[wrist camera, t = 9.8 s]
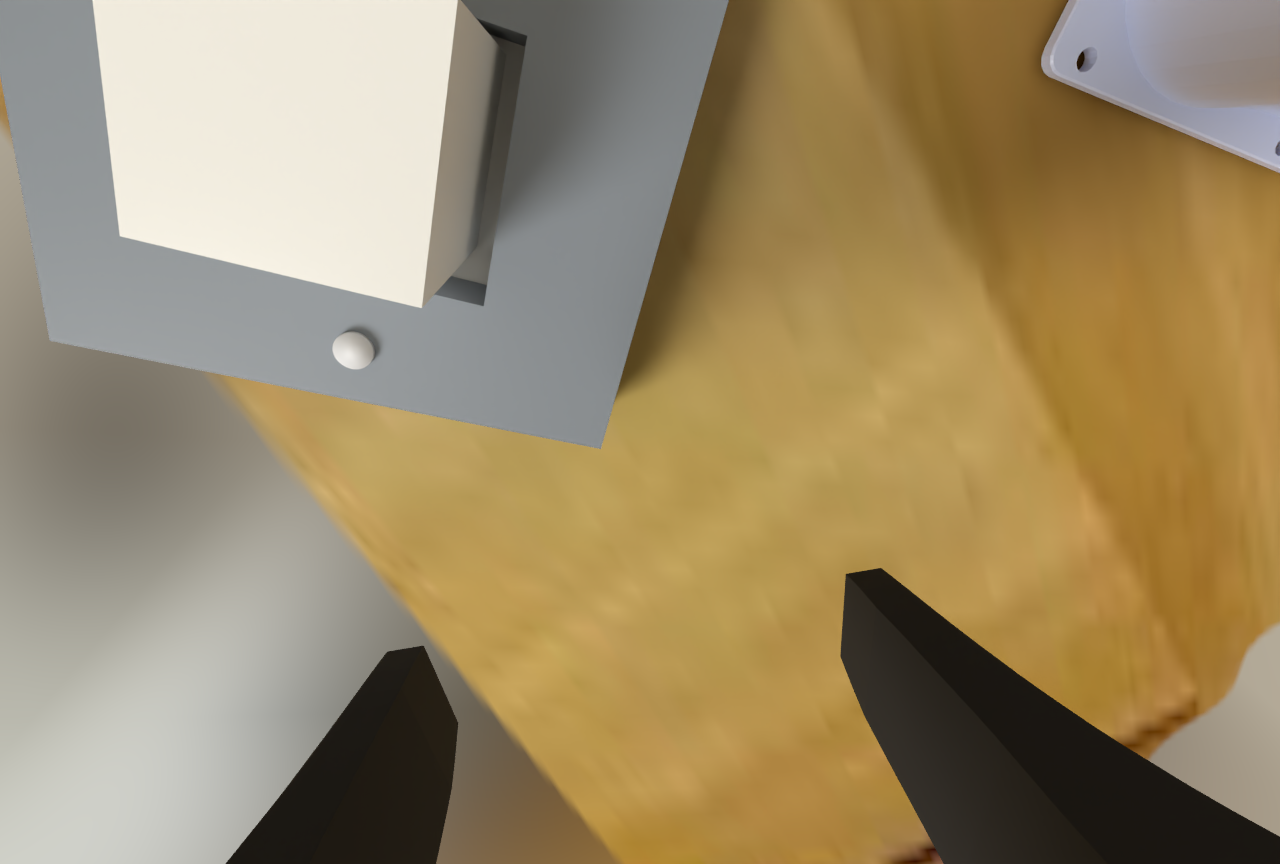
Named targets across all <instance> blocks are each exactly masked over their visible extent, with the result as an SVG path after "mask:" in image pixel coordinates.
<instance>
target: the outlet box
mask: <svg viewBox="0 0 1280 864" xmlns="http://www.w3.org/2000/svg"><path fill="white" fill-rule="evenodd" d="M461 1H462V2H463V3H464V5H465V6H466V7H467V8H468V9H469V11H470V12H471V13H472V14H473V15H474V17H475V18H476V19H477V20H478V21H479V23H480V24H481V25H482V26H483V27H484V29H485V30H486V31H487V32H488V33H489V35H490V36H491V37H492V38H493V39H494V41H495V42H496V43H497V44H498V45H499V47H500V48H501V49H502V50H503V51H504V52H505V54H506V60H505V67H504V73H503V80H502V87H501V93H500V100H499V106H498V113H497V119H496V126H495V132H494V139H493V145H492V152H491V159H490V165H489V172H488V178H487V185H486V191H485V198H484V204H483V211H482V217H481V224H480V231H479V237H478V244H477V247H476V249H475V250H474V251H473V252H472V253H471V254H470V255H469V256H468V257H467V259H466V260H465V261H464V262H463V263H462V264H461V265H460V266H459V267H458V269H457V270H456V271H455V272H454V273H453V274H452V275H451V276H450V277H449V279H448V280H447V281H446V282H445V283H444V284H443V285H442V286H441V287H440V289H439V290H438V291H437V292H436V293H435V294H434V295H433V296H432V297H431V299H430V300H429V301H428V302H427V303H426V304H425V305H424V306H423V308H418V307H414V306H410V305H406V304H402V303H398V302H393V301H389V300H385V299H381V298H377V297H372V296H368V295H364V294H360V293H356V292H351V291H347V290H343V289H339V288H335V287H330V286H326V285H322V284H318V283H314V282H310V281H305V280H301V279H297V278H293V277H289V276H284V275H280V274H276V273H272V272H268V271H263V270H259V269H255V268H251V267H247V266H243V265H238V264H234V263H230V262H226V261H222V260H217V259H213V258H209V257H205V256H201V255H196V254H192V253H188V252H184V251H180V250H175V249H171V248H167V247H163V246H159V245H155V244H150V243H146V242H142V241H138V240H134V239H129V238H125V237H121V236H120V234H119V225H118V217H117V208H116V199H115V191H114V182H113V174H112V165H111V156H110V148H109V139H108V130H107V122H106V113H105V104H104V96H103V87H102V78H101V70H100V61H99V52H98V44H97V35H96V27H95V18H94V9H93V1H92V0H0V77H1V82H2V87H3V93H4V98H5V103H6V109H7V114H8V120H9V125H10V130H11V136H12V141H13V146H14V152H15V157H16V162H17V168H18V173H19V178H20V184H21V189H22V194H23V200H24V205H25V210H26V216H27V221H28V226H29V231H30V237H31V243H32V248H33V253H34V259H35V264H36V269H37V274H38V279H39V285H40V290H41V296H42V301H43V306H44V312H45V317H46V322H47V328H48V333H49V339H50V341H54V342H59V343H64V344H69V345H74V346H79V347H84V348H89V349H94V350H99V351H104V352H110V353H115V354H120V355H125V356H130V357H135V358H140V359H145V360H150V361H155V362H160V363H166V364H171V365H176V366H181V367H186V368H191V369H196V370H201V371H206V372H211V373H217V374H222V375H227V376H232V377H237V378H242V379H247V380H252V381H257V382H262V383H268V384H273V385H278V386H283V387H288V388H293V389H298V390H303V391H308V392H313V393H319V394H324V395H329V396H334V397H339V398H344V399H349V400H354V401H359V402H364V403H370V404H375V405H380V406H385V407H390V408H395V409H400V410H405V411H410V412H415V413H420V414H426V415H431V416H436V417H441V418H446V419H451V420H456V421H461V422H466V423H471V424H477V425H482V426H487V427H492V428H497V429H502V430H507V431H512V432H517V433H522V434H528V435H533V436H538V437H543V438H548V439H553V440H558V441H563V442H568V443H573V444H579V445H584V446H589V447H594V448H599V449H601V446H602V443H603V439H604V436H605V432H606V428H607V425H608V421H609V418H610V414H611V411H612V407H613V404H614V400H615V397H616V393H617V390H618V386H619V383H620V379H621V376H622V372H623V369H624V365H625V362H626V358H627V355H628V351H629V348H630V344H631V341H632V337H633V334H634V330H635V327H636V323H637V320H638V316H639V313H640V309H641V306H642V302H643V299H644V295H645V292H646V288H647V285H648V281H649V278H650V274H651V271H652V267H653V264H654V260H655V257H656V253H657V250H658V246H659V243H660V239H661V236H662V232H663V229H664V225H665V222H666V218H667V215H668V211H669V208H670V204H671V201H672V197H673V194H674V190H675V187H676V183H677V180H678V176H679V173H680V169H681V166H682V162H683V159H684V155H685V152H686V148H687V145H688V141H689V138H690V134H691V131H692V127H693V124H694V120H695V117H696V113H697V110H698V106H699V103H700V99H701V96H702V92H703V89H704V85H705V82H706V78H707V75H708V71H709V68H710V64H711V61H712V57H713V54H714V50H715V47H716V43H717V40H718V36H719V33H720V29H721V26H722V22H723V19H724V15H725V12H726V8H727V5H728V1H729V0H461Z"/></svg>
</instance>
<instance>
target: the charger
mask: <svg viewBox="0 0 1280 864" xmlns="http://www.w3.org/2000/svg"><path fill="white" fill-rule="evenodd" d="M92 1H93V9H94V18H95V27H96V35H97V44H98V52H99V61H100V70H101V78H102V87H103V96H104V104H105V113H106V122H107V130H108V139H109V148H110V156H111V165H112V174H113V182H114V191H115V199H116V208H117V217H118V225H119V234H120V236H121V237H125V238H129V239H134V240H138V241H142V242H146V243H150V244H155V245H159V246H163V247H167V248H171V249H175V250H180V251H184V252H188V253H192V254H196V255H201V256H205V257H209V258H213V259H217V260H222V261H226V262H230V263H234V264H238V265H243V266H247V267H251V268H255V269H259V270H263V271H268V272H272V273H276V274H280V275H284V276H289V277H293V278H297V279H301V280H305V281H310V282H314V283H318V284H322V285H326V286H330V287H335V288H339V289H343V290H347V291H351V292H356V293H360V294H364V295H368V296H372V297H377V298H381V299H385V300H389V301H393V302H398V303H402V304H406V305H410V306H414V307H418V308H423V306H424V305H425V304H426V303H427V302H428V301H429V300H430V299H431V297H432V296H433V295H434V294H435V293H436V292H437V291H438V290H439V289H440V287H441V286H442V285H443V284H444V283H445V282H446V281H447V280H448V279H449V277H450V276H451V275H452V274H453V273H454V272H455V271H456V270H457V269H458V267H459V266H460V265H461V264H462V263H463V262H464V261H465V260H466V259H467V257H468V256H469V255H470V254H471V253H472V252H473V251H474V250H475V249H476V247H477V244H478V237H479V231H480V224H481V217H482V211H483V204H484V198H485V191H486V185H487V178H488V172H489V165H490V159H491V152H492V145H493V139H494V132H495V126H496V119H497V113H498V106H499V100H500V93H501V87H502V80H503V73H504V67H505V60H506V54H505V52H504V51H503V50H502V49H501V48H500V47H499V45H498V44H497V43H496V42H495V41H494V39H493V38H492V37H491V36H490V35H489V33H488V32H487V31H486V30H485V29H484V27H483V26H482V25H481V24H480V23H479V21H478V20H477V19H476V18H475V17H474V15H473V14H472V13H471V12H470V11H469V9H468V8H467V7H466V6H465V5H464V3H463V2H462V1H461V0H92Z"/></svg>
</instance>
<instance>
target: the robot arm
mask: <svg viewBox="0 0 1280 864" xmlns="http://www.w3.org/2000/svg"><path fill="white" fill-rule="evenodd" d="M1082 51H1083V52H1084V56H1085V60H1084V63H1083V65H1082V67H1081V68H1080V69H1079V70H1078V69H1077V64H1076V62H1077V59H1078V56H1079V55H1080V53H1081V52H1082ZM1041 66H1042V69H1043V72H1044V73H1045V74H1046V75H1047V76H1048V77H1050V78H1053V79H1055V80H1057V81H1060V82H1062V83H1065V84H1067V85H1069V86H1072V87H1074V88H1077V89H1079V90H1081V91H1084V92H1086V93H1089V94H1091V95H1093V96H1096V97H1098V98H1101V99H1103V100H1106V101H1108V102H1110V103H1113V104H1115V105H1118V106H1120V107H1122V108H1125V109H1127V110H1130V111H1132V112H1134V113H1137V114H1139V115H1142V116H1144V117H1146V118H1149V119H1151V120H1154V121H1156V122H1158V123H1161V124H1163V125H1166V126H1168V127H1170V128H1173V129H1175V130H1178V131H1180V132H1182V133H1185V134H1187V135H1190V136H1192V137H1194V138H1197V139H1199V140H1202V141H1204V142H1206V143H1209V144H1211V145H1214V146H1216V147H1218V148H1221V149H1223V150H1226V151H1228V152H1230V153H1233V154H1235V155H1238V156H1240V157H1242V158H1245V159H1247V160H1250V161H1252V162H1254V163H1257V164H1259V165H1262V166H1264V167H1266V168H1269V169H1271V170H1274V171H1276V172H1278V173H1280V0H1069V1H1068V3H1067V5H1066V7H1065V9H1064V11H1063V13H1062V15H1061V17H1060V18H1059V20H1058V22H1057V24H1056V26H1055V28H1054V30H1053V32H1052V34H1051V36H1050V38H1049V40H1048V42H1047V44H1046V46H1045V49H1044V52H1043V54H1042V59H1041ZM1278 142H1279V143H1278ZM1277 144H1278V145H1277ZM1276 146H1277V147H1276ZM1275 148H1276V149H1275ZM841 659H842V661H843V664H844V666H845V669H846V672H847V674H848V677H849V679H850V682H851V684H852V687H853V689H854V692H855V694H856V697H857V699H858V701H859V704H860V706H861V709H862V711H863V713H864V716H865V718H866V720H867V721H868V723H869V725H870V727H871V729H872V731H873V733H874V735H875V737H876V739H877V740H878V742H879V744H880V746H881V748H882V750H883V752H884V754H885V755H886V757H887V759H888V761H889V763H890V765H891V767H892V769H893V770H894V772H895V774H896V776H897V778H898V780H899V782H900V783H901V785H902V787H903V789H904V791H905V793H906V794H907V796H908V798H909V800H910V802H911V804H912V806H913V807H914V809H915V811H916V813H917V815H918V817H919V819H920V820H921V822H922V824H923V826H924V828H925V830H926V832H927V833H928V835H929V837H930V839H931V841H932V843H933V845H934V846H935V848H936V850H937V852H938V854H939V856H940V858H941V859H942V861H943V863H944V864H1280V837H1279V836H1277V835H1276V834H1274V833H1272V832H1270V831H1268V830H1266V829H1265V828H1263V827H1261V826H1259V825H1257V824H1256V823H1254V822H1252V821H1250V820H1248V819H1247V818H1245V817H1243V816H1241V815H1239V814H1237V813H1236V812H1234V811H1232V810H1230V809H1229V808H1227V807H1225V806H1223V805H1222V804H1220V803H1218V802H1216V801H1215V800H1213V799H1211V798H1210V797H1208V796H1206V795H1204V794H1203V793H1201V792H1199V791H1197V790H1196V789H1194V788H1192V787H1191V786H1189V785H1187V784H1186V783H1184V782H1182V781H1181V780H1179V779H1177V778H1176V777H1174V776H1172V775H1171V774H1169V773H1167V772H1166V771H1164V770H1163V769H1161V768H1159V767H1158V766H1156V765H1155V764H1153V763H1151V762H1150V761H1148V760H1146V759H1145V758H1143V757H1141V756H1140V755H1138V754H1137V753H1135V752H1133V751H1132V750H1130V749H1128V748H1127V747H1125V746H1124V745H1122V744H1120V743H1119V742H1117V741H1116V740H1114V739H1113V738H1111V737H1109V736H1108V735H1106V734H1105V733H1103V732H1102V731H1100V730H1099V729H1097V728H1096V727H1094V726H1092V725H1091V724H1089V723H1088V722H1086V721H1085V720H1084V719H1082V718H1081V717H1079V716H1078V715H1076V714H1075V713H1073V712H1072V711H1070V710H1069V709H1067V708H1066V707H1065V706H1063V705H1062V704H1060V703H1059V702H1057V701H1056V700H1054V699H1053V698H1051V697H1050V696H1048V695H1047V694H1046V693H1044V692H1043V691H1041V690H1040V689H1038V688H1037V687H1036V686H1034V685H1033V684H1031V683H1030V682H1029V681H1027V680H1026V679H1024V678H1023V677H1022V676H1020V675H1019V674H1017V673H1016V672H1015V671H1013V670H1012V669H1011V668H1009V667H1008V666H1007V665H1005V664H1004V663H1003V662H1001V661H1000V660H999V659H997V658H996V657H995V656H993V655H992V654H991V653H989V652H988V651H987V650H985V649H984V648H983V647H981V646H980V645H978V644H977V643H976V642H975V641H973V640H972V639H971V638H969V637H968V636H967V635H965V634H964V633H963V632H961V631H960V630H959V629H958V628H956V627H955V626H954V625H952V624H951V623H950V622H949V621H947V620H946V619H945V618H944V617H942V616H941V615H940V614H938V613H937V612H936V611H935V610H933V609H932V608H931V607H930V606H928V605H927V604H926V603H925V602H923V601H922V600H921V599H920V598H918V597H917V596H916V595H915V594H913V593H912V592H911V591H910V590H908V589H907V588H906V587H904V586H903V585H902V584H901V583H899V582H898V581H897V580H896V579H894V578H893V577H892V576H891V575H889V574H888V573H887V572H885V571H884V570H883V569H881V568H878V569H872V570H867V571H861V572H855V573H849V574H846V581H845V596H844V611H843V626H842V641H841ZM457 730H458V722H457V719H456V717H455V715H454V713H453V710H452V708H451V706H450V704H449V701H448V699H447V697H446V695H445V693H444V690H443V688H442V686H441V683H440V681H439V679H438V677H437V674H436V672H435V670H434V668H433V665H432V663H431V661H430V659H429V657H428V654H427V652H426V650H425V648H424V646H419V647H413V648H407V649H401V650H395V651H389V652H387V653H386V654H385V655H384V657H383V658H382V659H381V661H380V662H379V663H378V665H377V666H376V667H375V669H374V670H373V671H372V673H371V674H370V675H369V677H368V678H367V679H366V681H365V682H364V684H363V685H362V686H361V688H360V689H359V690H358V692H357V693H356V695H355V696H354V697H353V699H352V700H351V702H350V703H349V704H348V706H347V707H346V708H345V710H344V711H343V713H342V714H341V715H340V717H339V718H338V719H337V721H336V722H335V724H334V725H333V726H332V728H331V729H330V730H329V732H328V733H327V734H326V736H325V737H324V738H323V740H322V741H321V742H320V744H319V745H318V747H317V748H316V749H315V751H314V752H313V753H312V754H311V756H310V757H309V758H308V760H307V761H306V762H305V764H304V765H303V767H302V768H301V769H300V770H299V772H298V773H297V774H296V776H295V777H294V778H293V780H292V781H291V783H290V784H289V785H288V786H287V788H286V789H285V790H284V792H283V793H282V794H281V795H280V797H279V798H278V799H277V801H276V802H275V803H274V804H273V806H272V807H271V808H270V809H269V811H268V812H267V813H266V814H265V816H264V817H263V818H262V819H261V821H260V822H259V823H258V824H257V826H256V827H255V828H254V829H253V830H252V832H251V833H250V834H249V835H248V837H247V838H246V839H245V840H244V842H243V843H242V844H241V845H240V847H239V848H238V849H237V850H236V852H235V853H234V854H233V855H232V857H231V858H230V859H229V860H228V862H227V863H226V864H436V861H437V856H438V852H439V847H440V842H441V838H442V833H443V827H444V823H445V819H446V814H447V809H448V804H449V799H450V794H451V789H452V780H453V771H454V763H455V752H456V741H457Z"/></svg>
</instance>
